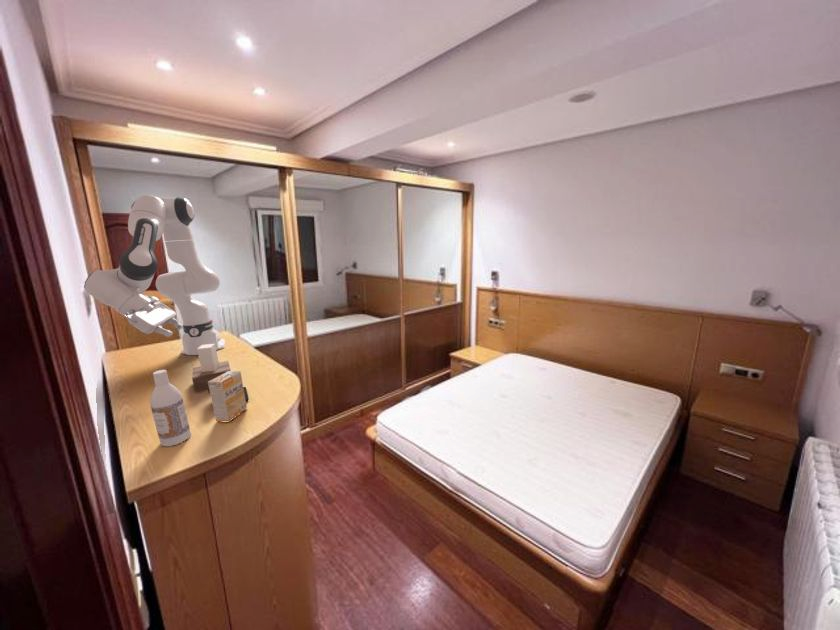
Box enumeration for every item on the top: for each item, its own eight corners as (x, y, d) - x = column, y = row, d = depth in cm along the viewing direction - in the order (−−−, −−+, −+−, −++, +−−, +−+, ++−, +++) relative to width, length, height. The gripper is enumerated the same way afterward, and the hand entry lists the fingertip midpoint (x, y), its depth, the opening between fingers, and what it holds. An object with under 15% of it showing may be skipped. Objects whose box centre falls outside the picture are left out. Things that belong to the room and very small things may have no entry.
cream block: (206, 367, 131) (201, 344, 129) (219, 365, 132) (215, 343, 130) (201, 372, 127) (197, 348, 125) (215, 370, 128) (210, 347, 126)
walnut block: (195, 382, 133) (192, 367, 132) (230, 374, 139) (228, 360, 138) (195, 394, 123) (192, 378, 122) (233, 384, 129) (230, 369, 128)
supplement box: (229, 423, 102) (221, 382, 99) (215, 422, 103) (206, 381, 100) (248, 409, 110) (241, 370, 106) (235, 408, 110) (227, 370, 107)
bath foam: (154, 446, 92) (135, 377, 87) (175, 431, 99) (159, 366, 94) (176, 448, 91) (159, 377, 86) (197, 433, 97) (181, 366, 93)
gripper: (128, 306, 109) (170, 332, 114) (156, 295, 129) (192, 318, 133) (115, 322, 109) (158, 347, 114) (145, 308, 129) (181, 330, 133)
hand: (176, 331), depth 124 cm, fingers open, 8 cm apart
